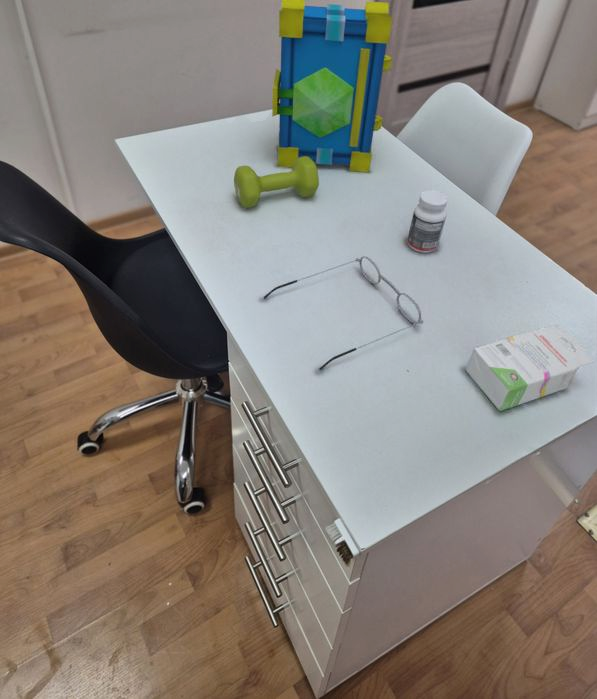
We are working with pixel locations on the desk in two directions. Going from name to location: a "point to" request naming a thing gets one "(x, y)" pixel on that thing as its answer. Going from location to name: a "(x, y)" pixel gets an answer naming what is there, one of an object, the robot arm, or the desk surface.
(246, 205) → the dumbbell
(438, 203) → the pill bottle
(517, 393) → the ink box
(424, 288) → the desk surface
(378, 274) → the eyeglasses
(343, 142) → the decorative book
